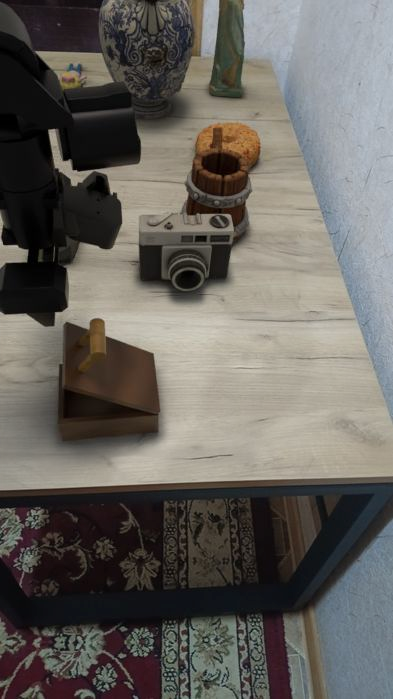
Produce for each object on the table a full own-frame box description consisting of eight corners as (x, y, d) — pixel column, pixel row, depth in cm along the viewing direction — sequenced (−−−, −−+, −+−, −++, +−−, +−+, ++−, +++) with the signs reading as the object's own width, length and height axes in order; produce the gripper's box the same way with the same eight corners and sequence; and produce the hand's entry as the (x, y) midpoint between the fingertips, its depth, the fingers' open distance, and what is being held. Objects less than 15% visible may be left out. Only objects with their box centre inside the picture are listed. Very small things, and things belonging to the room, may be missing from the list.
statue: (246, 99, 113) (266, -34, 93) (210, 98, 112) (222, -37, 92) (242, 85, 117) (260, -46, 97) (207, 84, 116) (218, -48, 96)
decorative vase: (196, 132, 103) (208, -32, 80) (106, 133, 100) (93, -36, 78) (182, 83, 115) (190, -69, 93) (102, 83, 112) (90, -74, 90)
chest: (62, 441, 58) (57, 424, 55) (63, 382, 63) (58, 363, 60) (158, 432, 60) (158, 415, 57) (152, 375, 65) (152, 356, 62)
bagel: (266, 148, 101) (270, 124, 97) (247, 183, 93) (252, 159, 89) (206, 133, 103) (209, 109, 99) (184, 166, 95) (185, 142, 91)
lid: (61, 388, 49) (86, 363, 47) (63, 324, 54) (85, 298, 52) (156, 414, 56) (183, 394, 54) (150, 356, 61) (174, 334, 59)
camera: (134, 295, 73) (132, 241, 65) (140, 256, 79) (140, 202, 71) (226, 302, 74) (236, 250, 66) (226, 262, 79) (234, 210, 72)
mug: (180, 249, 80) (184, 157, 70) (177, 208, 90) (180, 123, 80) (251, 250, 81) (265, 160, 71) (240, 209, 91) (251, 125, 81)
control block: (69, 269, 76) (66, 255, 73) (30, 264, 76) (26, 249, 73) (99, 194, 88) (97, 179, 85) (65, 190, 88) (63, 175, 85)
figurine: (64, 71, 116) (56, 98, 107) (61, 51, 113) (52, 77, 103) (89, 73, 117) (83, 100, 107) (88, 52, 114) (81, 78, 104)
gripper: (117, 240, 39) (125, 356, 52) (111, 120, 50) (120, 239, 63) (-29, 244, 38) (16, 362, 50) (-1, 119, 49) (30, 241, 61)
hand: (51, 294), depth 56 cm, fingers open, 9 cm apart
